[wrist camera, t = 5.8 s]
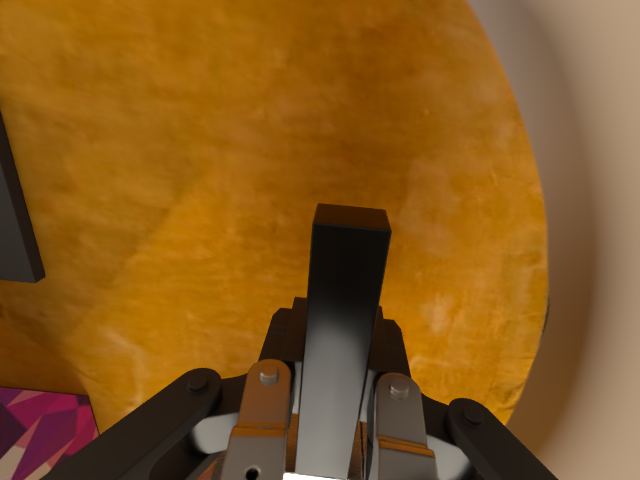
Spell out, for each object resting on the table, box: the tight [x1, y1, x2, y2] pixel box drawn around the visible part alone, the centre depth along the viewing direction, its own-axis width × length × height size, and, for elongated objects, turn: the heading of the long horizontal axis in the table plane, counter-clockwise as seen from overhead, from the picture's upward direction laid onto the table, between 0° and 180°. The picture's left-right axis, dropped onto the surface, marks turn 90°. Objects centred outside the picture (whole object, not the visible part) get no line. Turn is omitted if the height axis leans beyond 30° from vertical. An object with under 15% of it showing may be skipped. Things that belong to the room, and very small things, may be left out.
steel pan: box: [197, 203, 392, 480], centre depth 15 cm, size 22×12×4 cm, turn 175°
